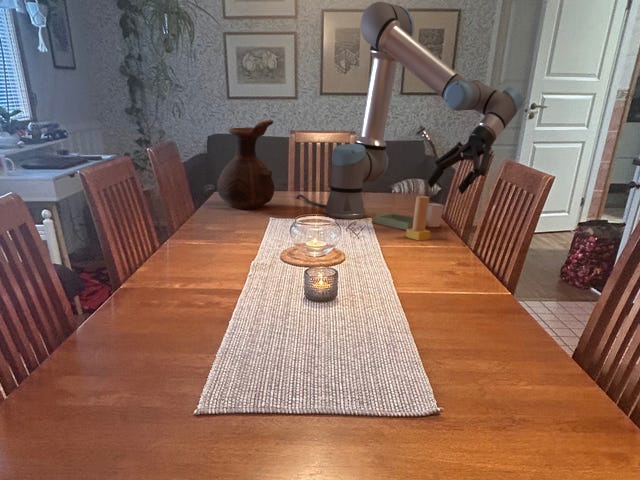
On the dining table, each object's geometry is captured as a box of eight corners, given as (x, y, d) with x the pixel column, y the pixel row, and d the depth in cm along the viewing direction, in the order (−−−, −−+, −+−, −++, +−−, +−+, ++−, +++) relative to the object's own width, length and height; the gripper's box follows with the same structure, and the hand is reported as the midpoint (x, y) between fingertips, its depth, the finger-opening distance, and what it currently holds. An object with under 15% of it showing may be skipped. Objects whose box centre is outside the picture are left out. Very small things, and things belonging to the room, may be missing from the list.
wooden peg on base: (405, 236, 194) (410, 195, 188) (416, 235, 197) (422, 194, 190) (418, 240, 190) (423, 198, 183) (429, 239, 192) (435, 197, 186)
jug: (220, 211, 219) (217, 118, 203) (216, 201, 237) (212, 115, 221) (278, 211, 223) (279, 120, 207) (269, 201, 241) (270, 117, 225)
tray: (373, 222, 212) (374, 216, 211) (391, 219, 218) (392, 213, 217) (407, 230, 203) (408, 223, 202) (425, 227, 209) (426, 220, 208)
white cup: (442, 227, 209) (446, 206, 206) (423, 226, 209) (426, 205, 205) (439, 223, 215) (442, 203, 211) (420, 223, 215) (423, 202, 211)
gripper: (520, 147, 183) (478, 202, 184) (460, 140, 200) (422, 190, 201) (513, 127, 178) (469, 184, 178) (452, 122, 195) (412, 174, 196)
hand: (444, 187), depth 190 cm, fingers open, 13 cm apart
